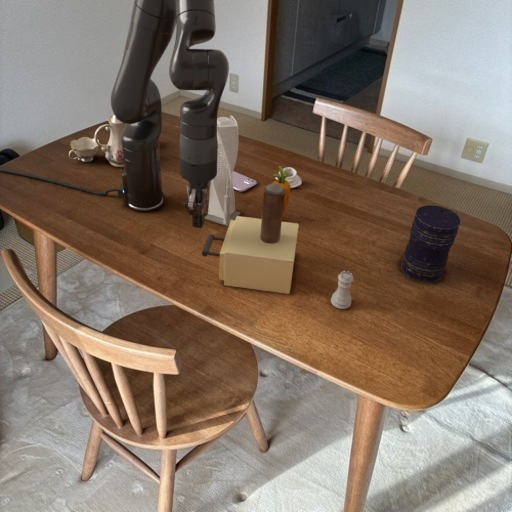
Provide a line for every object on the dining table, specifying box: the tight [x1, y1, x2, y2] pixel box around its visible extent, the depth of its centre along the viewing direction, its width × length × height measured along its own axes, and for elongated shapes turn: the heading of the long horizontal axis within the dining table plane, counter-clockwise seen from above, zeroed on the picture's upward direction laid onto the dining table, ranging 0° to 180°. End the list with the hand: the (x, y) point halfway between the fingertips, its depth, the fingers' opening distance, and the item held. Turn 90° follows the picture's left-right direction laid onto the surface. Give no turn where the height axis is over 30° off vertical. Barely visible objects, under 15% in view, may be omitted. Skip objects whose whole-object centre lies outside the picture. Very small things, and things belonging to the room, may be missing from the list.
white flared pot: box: [275, 166, 303, 189], centre depth 154 cm, size 8×7×5 cm
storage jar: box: [400, 204, 461, 284], centre depth 121 cm, size 10×10×15 cm
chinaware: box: [68, 114, 126, 168], centre depth 158 cm, size 28×17×17 cm, turn 133°
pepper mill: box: [260, 183, 285, 244], centre depth 113 cm, size 4×4×13 cm
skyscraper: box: [204, 114, 241, 227], centre depth 131 cm, size 8×8×28 cm
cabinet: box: [223, 215, 300, 295], centre depth 119 cm, size 15×15×9 cm
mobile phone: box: [232, 170, 258, 193], centre depth 155 cm, size 8×1×15 cm
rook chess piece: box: [330, 270, 354, 310], centre depth 112 cm, size 4×4×8 cm
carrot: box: [271, 165, 292, 215], centre depth 135 cm, size 5×5×15 cm
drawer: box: [201, 219, 236, 281], centre depth 120 cm, size 18×13×7 cm
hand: (198, 225), depth 115 cm, fingers closed
